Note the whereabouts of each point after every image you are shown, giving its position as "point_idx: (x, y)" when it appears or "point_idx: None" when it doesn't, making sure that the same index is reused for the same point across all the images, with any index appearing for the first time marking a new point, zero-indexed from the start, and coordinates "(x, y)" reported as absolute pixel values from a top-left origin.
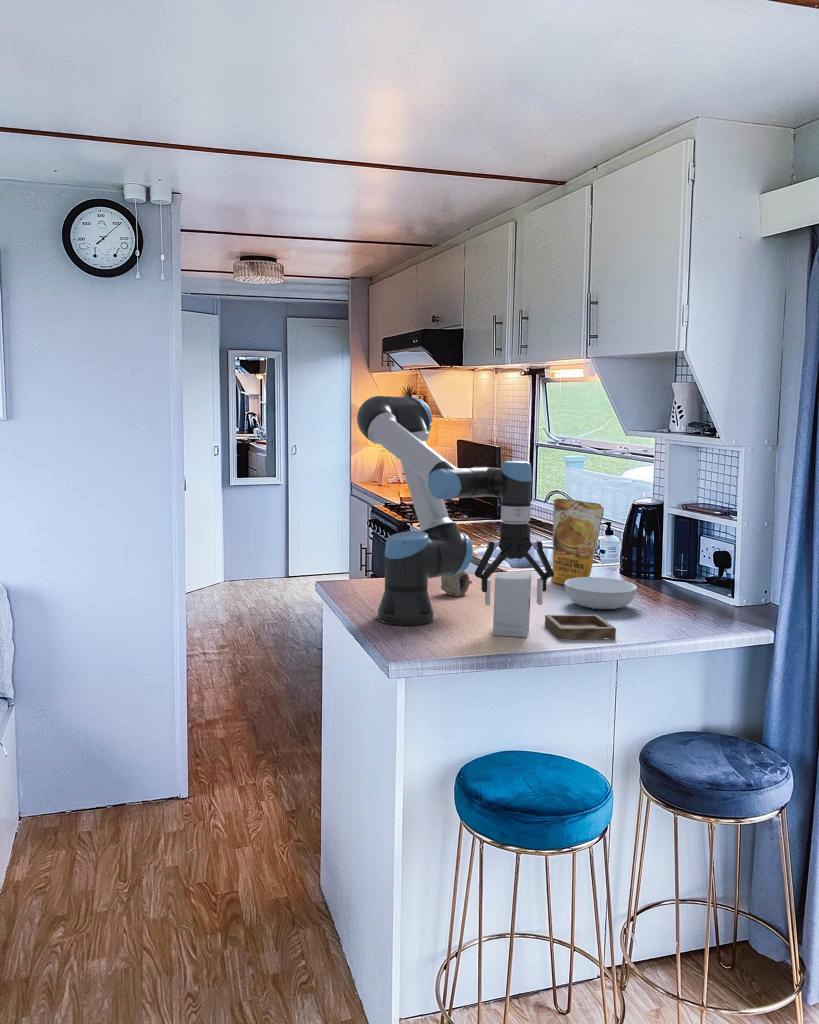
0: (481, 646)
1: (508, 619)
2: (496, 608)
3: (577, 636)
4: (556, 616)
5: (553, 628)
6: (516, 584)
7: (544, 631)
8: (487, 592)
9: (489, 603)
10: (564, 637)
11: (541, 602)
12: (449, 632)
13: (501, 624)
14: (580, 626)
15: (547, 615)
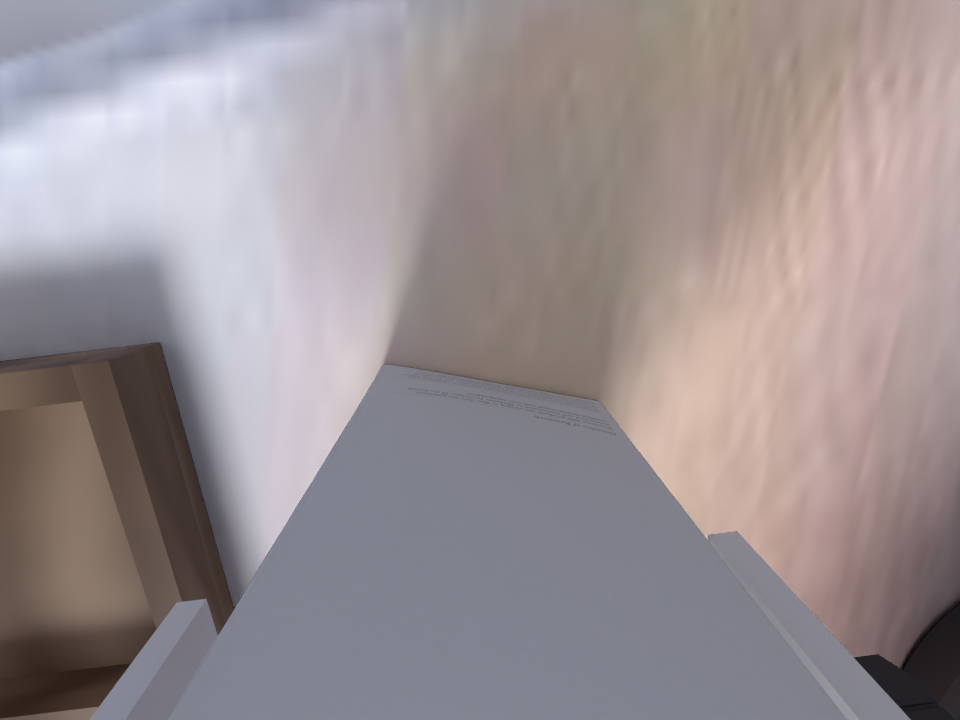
0: (721, 120)
1: (518, 423)
2: (646, 484)
3: (21, 361)
4: None
5: (184, 506)
6: (464, 676)
7: (256, 527)
8: (832, 635)
9: (725, 548)
10: (119, 350)
11: (171, 621)
12: (857, 448)
13: (564, 416)
14: (7, 604)
15: None
